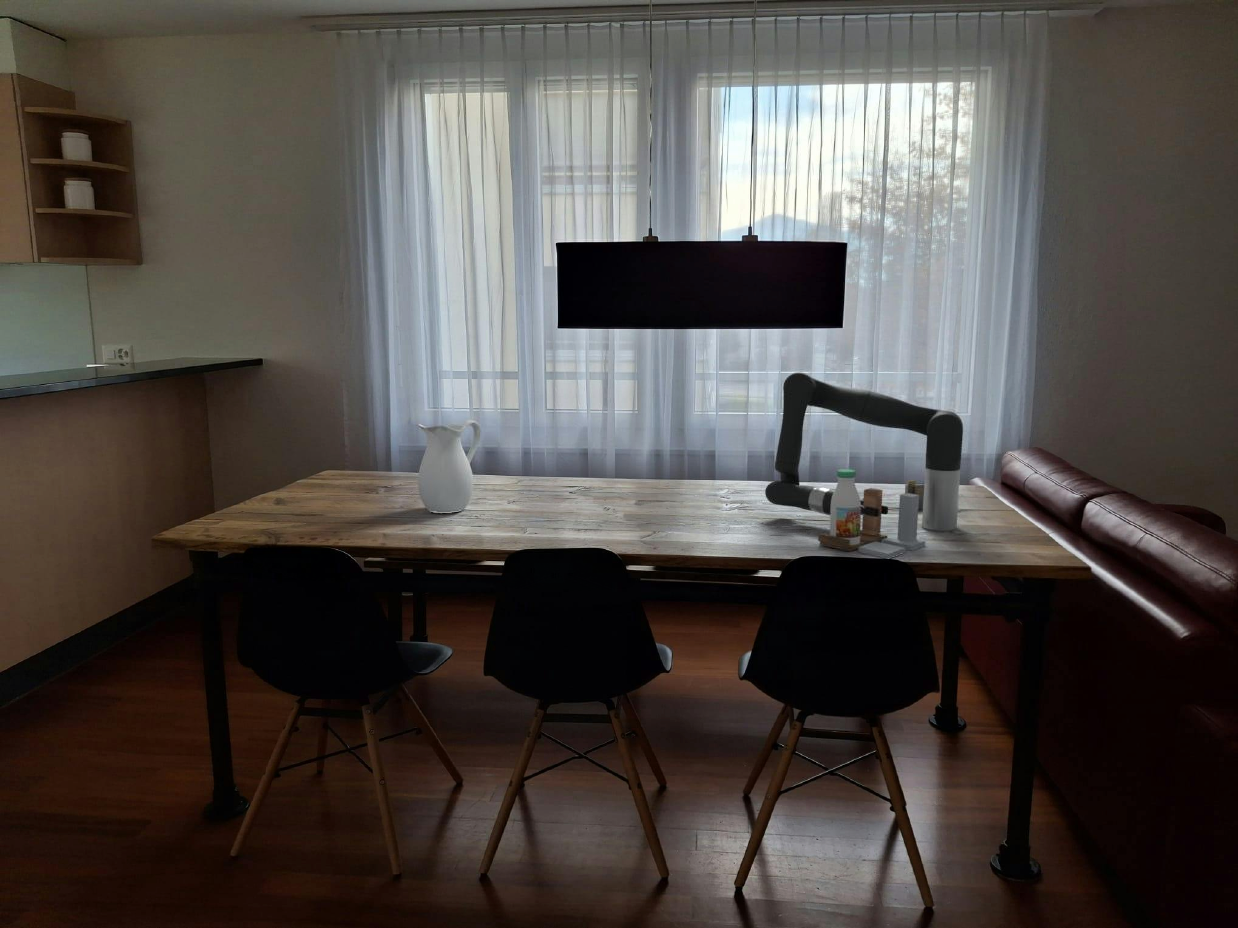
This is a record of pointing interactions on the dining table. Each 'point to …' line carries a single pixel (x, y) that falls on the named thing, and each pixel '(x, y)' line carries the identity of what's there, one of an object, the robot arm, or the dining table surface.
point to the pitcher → (447, 467)
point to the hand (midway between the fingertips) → (882, 511)
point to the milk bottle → (846, 508)
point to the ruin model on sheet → (915, 491)
